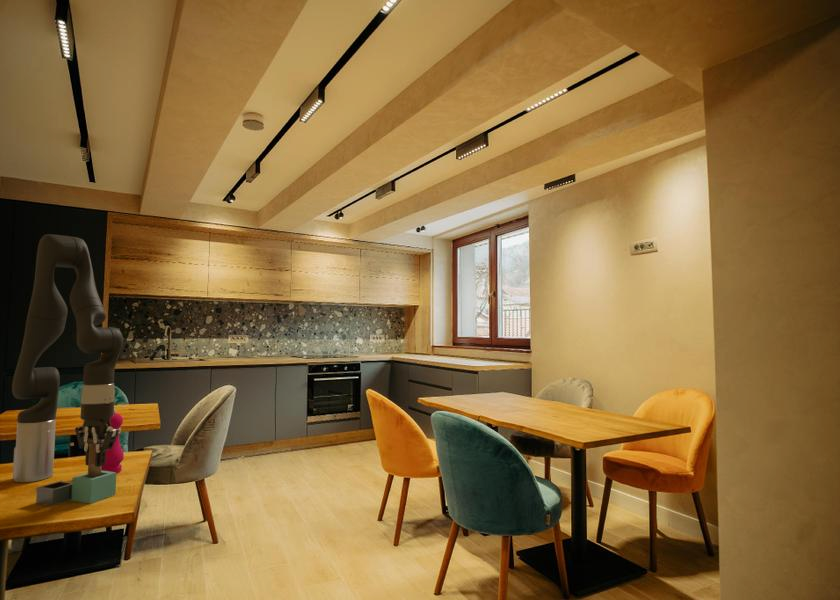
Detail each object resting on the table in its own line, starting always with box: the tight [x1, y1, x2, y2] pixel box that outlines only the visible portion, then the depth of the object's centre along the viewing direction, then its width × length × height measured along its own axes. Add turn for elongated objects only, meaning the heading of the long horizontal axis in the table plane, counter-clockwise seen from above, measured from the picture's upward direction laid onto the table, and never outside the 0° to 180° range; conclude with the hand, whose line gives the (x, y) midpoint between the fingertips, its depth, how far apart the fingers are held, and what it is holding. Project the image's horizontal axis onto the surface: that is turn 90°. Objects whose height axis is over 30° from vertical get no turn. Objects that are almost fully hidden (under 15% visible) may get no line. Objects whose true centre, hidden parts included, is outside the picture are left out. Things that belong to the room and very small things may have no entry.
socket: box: [70, 470, 117, 504], centre depth 129 cm, size 7×7×6 cm
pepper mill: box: [101, 408, 125, 474], centre depth 152 cm, size 7×7×20 cm
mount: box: [35, 480, 72, 507], centre depth 126 cm, size 6×6×4 cm
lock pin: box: [87, 438, 104, 478], centre depth 129 cm, size 4×4×12 cm
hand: (95, 465), depth 129 cm, fingers closed on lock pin, 3 cm apart
